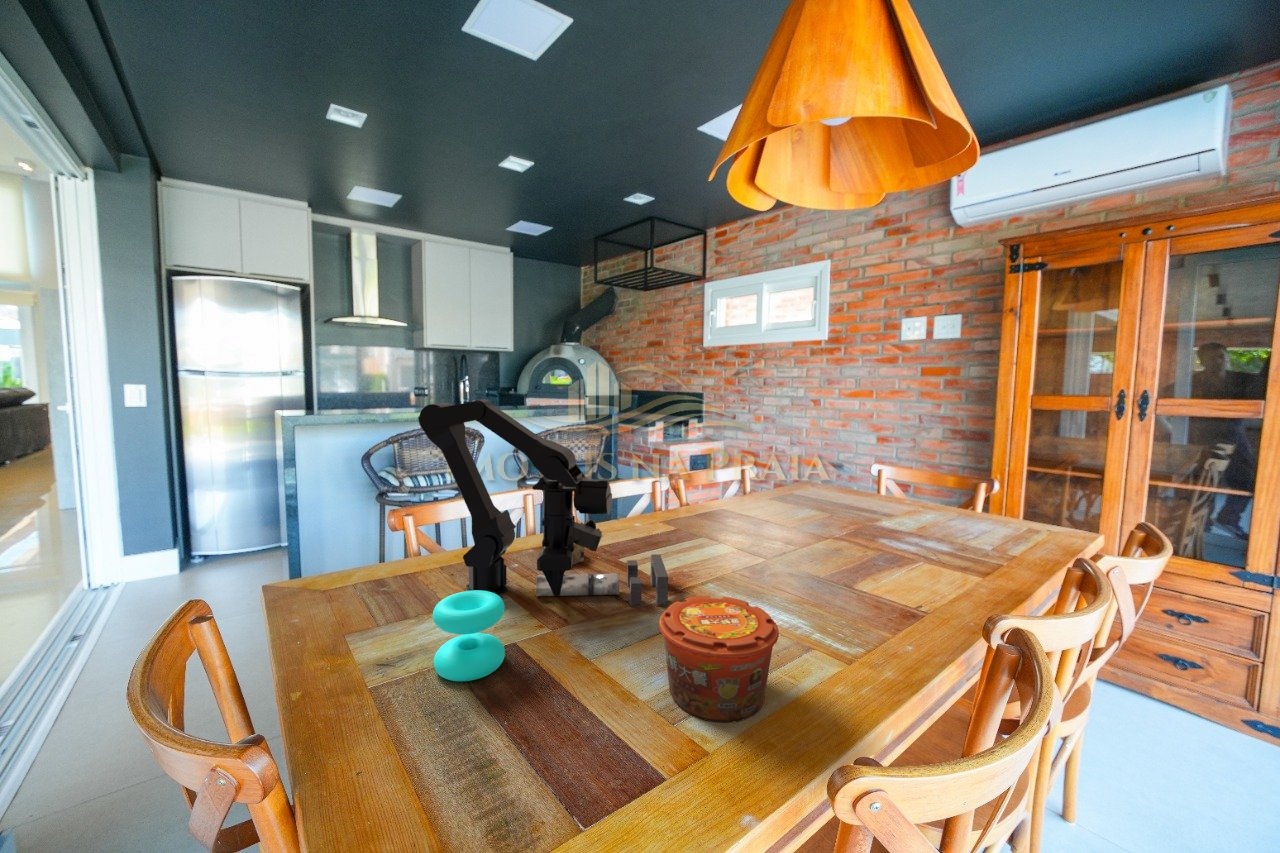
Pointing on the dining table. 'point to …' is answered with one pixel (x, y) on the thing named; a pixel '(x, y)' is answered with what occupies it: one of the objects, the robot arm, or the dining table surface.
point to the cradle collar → (634, 583)
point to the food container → (718, 656)
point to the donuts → (469, 635)
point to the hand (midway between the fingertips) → (558, 589)
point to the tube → (581, 585)
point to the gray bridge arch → (659, 580)
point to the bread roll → (576, 553)
